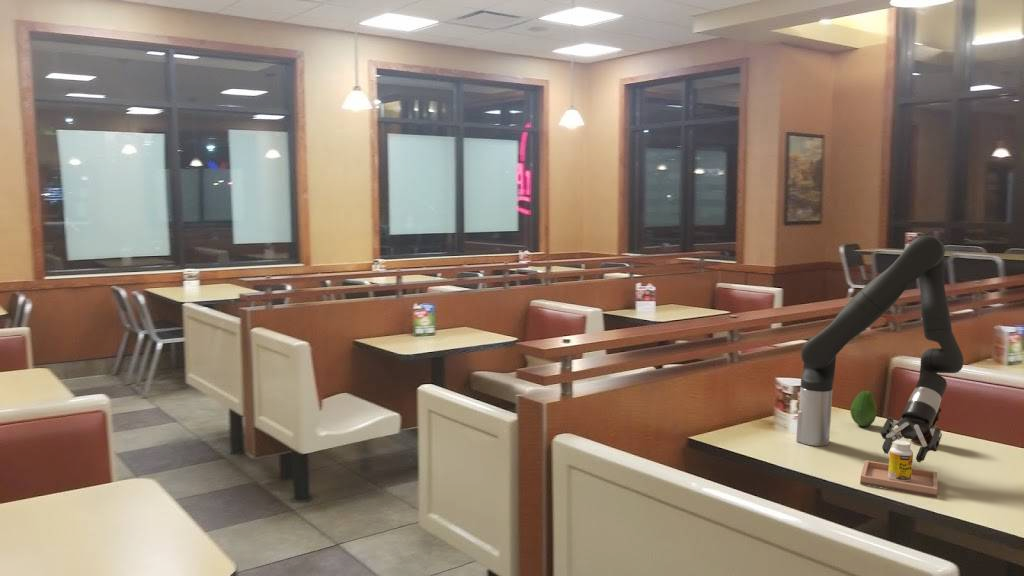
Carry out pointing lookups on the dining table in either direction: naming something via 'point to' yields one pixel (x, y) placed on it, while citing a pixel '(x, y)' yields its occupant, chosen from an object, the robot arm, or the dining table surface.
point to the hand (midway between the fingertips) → (901, 456)
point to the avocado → (863, 409)
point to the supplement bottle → (900, 461)
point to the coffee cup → (929, 437)
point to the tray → (919, 483)
